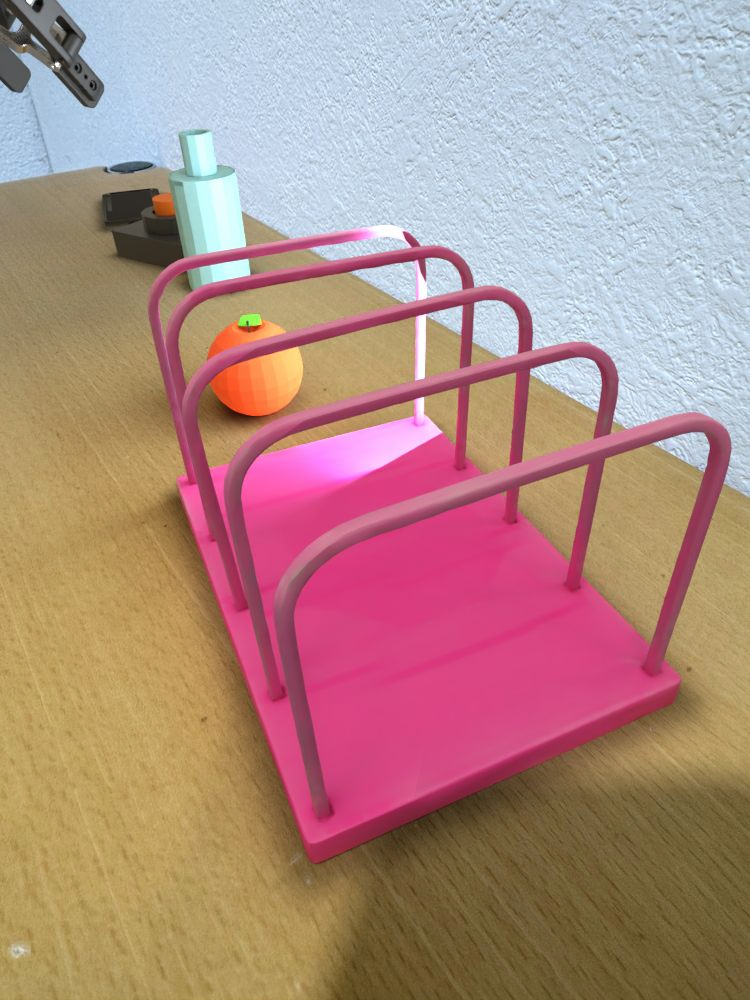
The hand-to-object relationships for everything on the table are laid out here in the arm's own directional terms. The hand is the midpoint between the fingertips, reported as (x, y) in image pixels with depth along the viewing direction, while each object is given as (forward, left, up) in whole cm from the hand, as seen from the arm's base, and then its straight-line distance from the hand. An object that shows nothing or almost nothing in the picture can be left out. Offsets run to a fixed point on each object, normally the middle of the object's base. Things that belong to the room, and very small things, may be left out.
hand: (59, 91), depth 55 cm
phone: (-26, +25, -19) cm, 41 cm away
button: (-8, +16, -15) cm, 23 cm away
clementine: (+23, -6, -19) cm, 30 cm away
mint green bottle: (+3, +11, -19) cm, 22 cm away
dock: (-8, +16, -19) cm, 26 cm away
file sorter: (+41, -17, -19) cm, 48 cm away
